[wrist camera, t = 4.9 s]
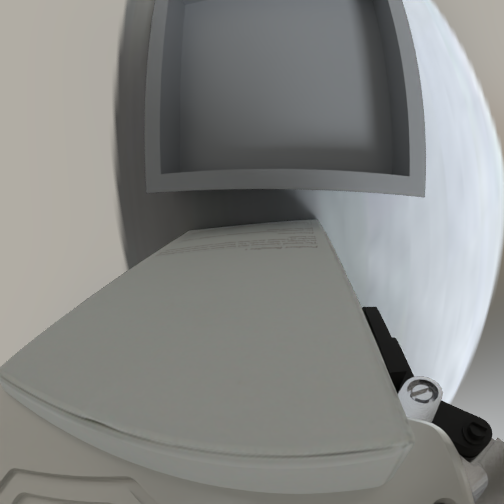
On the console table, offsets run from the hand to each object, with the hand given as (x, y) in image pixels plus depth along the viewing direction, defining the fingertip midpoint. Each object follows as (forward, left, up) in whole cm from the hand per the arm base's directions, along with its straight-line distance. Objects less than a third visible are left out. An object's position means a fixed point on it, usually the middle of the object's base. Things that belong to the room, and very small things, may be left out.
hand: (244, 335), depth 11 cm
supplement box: (0, 0, -5) cm, 5 cm away
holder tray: (+9, -7, -5) cm, 13 cm away
